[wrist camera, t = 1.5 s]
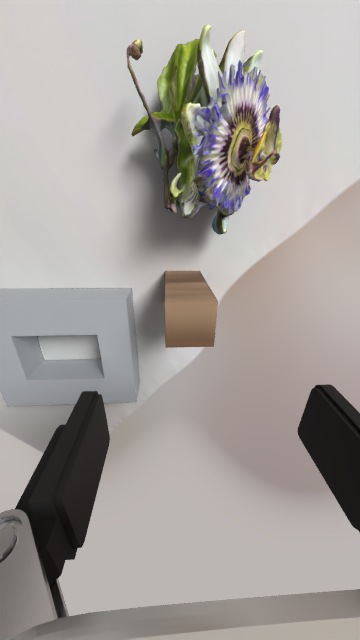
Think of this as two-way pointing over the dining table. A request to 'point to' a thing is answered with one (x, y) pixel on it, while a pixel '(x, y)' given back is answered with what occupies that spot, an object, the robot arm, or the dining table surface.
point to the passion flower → (212, 126)
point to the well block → (67, 319)
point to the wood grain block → (189, 310)
